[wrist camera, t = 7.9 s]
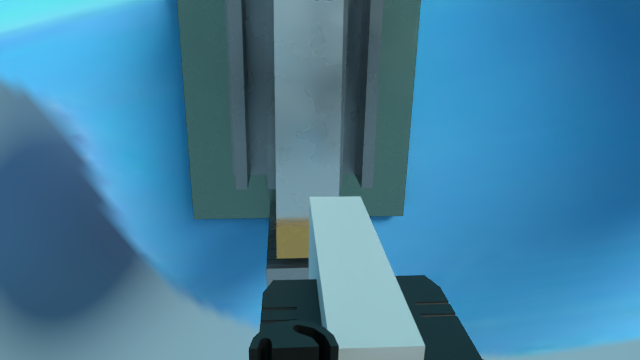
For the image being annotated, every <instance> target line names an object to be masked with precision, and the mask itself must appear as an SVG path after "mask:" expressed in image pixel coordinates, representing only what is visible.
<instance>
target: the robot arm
mask: <svg viewBox="0 0 640 360" xmlns="http://www.w3.org/2000/svg"><path fill="white" fill-rule="evenodd" d="M249 360H483V359H482V358H481V356H480V355H479V353H478V351H477V350H476V348H475V346H474V344H473V343H472V341H471V339H470V338H469V336H468V334H467V332H466V331H465V329H464V327H463V326H462V324H461V322H460V321H459V319H458V317H457V316H455V312H454V310H453V309H452V307H451V305H450V304H448V300H447V298H446V297H445V295H444V293H443V292H442V290H441V288H440V287H439V286H438V285H436V284H435V283H434V282H432V281H431V280H430V279H428V278H427V277H426V276H424V275H418V276H395V275H394V273H393V270H392V268H391V266H390V263H389V261H388V259H387V256H386V254H385V252H384V249H383V247H382V245H381V242H380V240H379V238H378V236H377V233H376V231H375V229H374V226H373V224H372V222H371V219H370V217H369V215H368V212H367V210H366V208H365V206H364V203H363V201H362V199H361V196H348V197H309V279H302V280H273V281H272V282H271V284H270V285H269V286H268V287H267V289H266V290H265V291H264V292H263V299H262V311H261V324H260V332H259V333H258V334H257V335H256V336H255V337H254V338H253V340H252V342H251V345H250V347H249Z"/></svg>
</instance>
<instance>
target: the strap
mask: <svg viewBox="0 0 640 360" xmlns="http://www.w3.org/2000/svg"><path fill="white" fill-rule="evenodd" d="M343 11H344V0H274V74H275V152H276V243H277V259H280V258H309V197H339V179H340V137H341V95H342V53H343Z"/></svg>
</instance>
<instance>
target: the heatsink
mask: <svg viewBox="0 0 640 360" xmlns="http://www.w3.org/2000/svg"><path fill="white" fill-rule="evenodd" d="M420 4H421V0H344V11H343V53H342V95H341V137H340V179H339V197H348V196H361V199H362V201H363V203H364V206H365V208H366V210H367V212H368V215H369V216H403V211H404V198H405V186H406V174H407V162H408V150H409V138H410V126H411V113H412V101H413V89H414V77H415V65H416V53H417V41H418V28H419V16H420ZM177 7H178V20H179V33H180V46H181V59H182V72H183V85H184V98H185V111H186V125H187V138H188V151H189V164H190V177H191V190H192V203H193V216H194V219H238V218H269V233H268V250H267V268H266V271H267V287H268V286H269V285H270V284H271V282H272V281H273V280H302V279H309V258H280V259H277V243H276V152H275V74H274V0H177Z"/></svg>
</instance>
